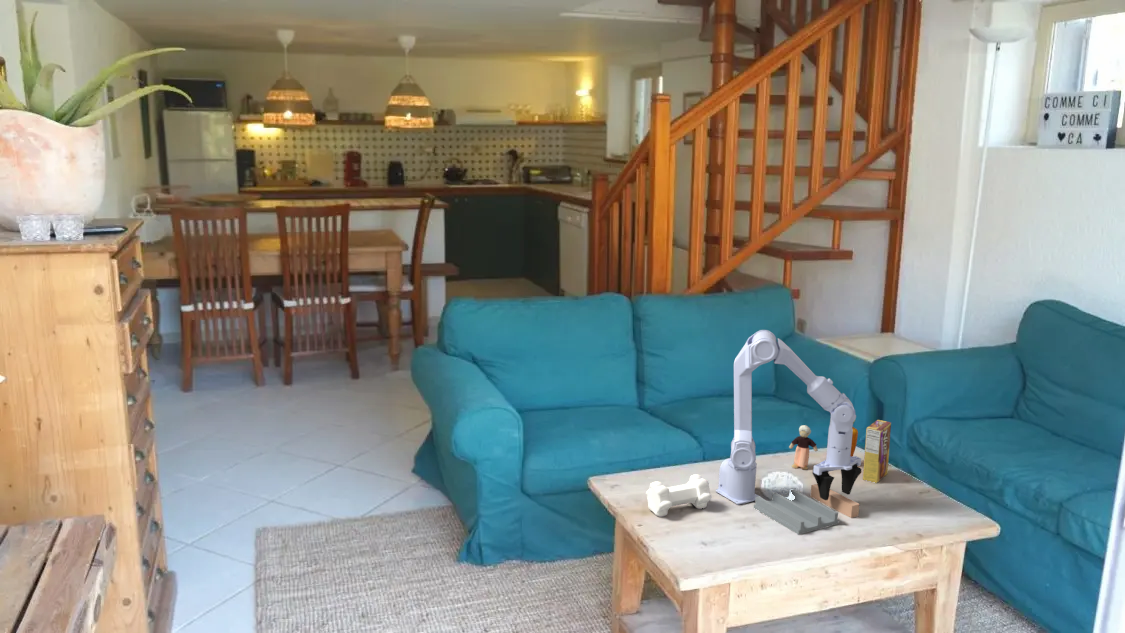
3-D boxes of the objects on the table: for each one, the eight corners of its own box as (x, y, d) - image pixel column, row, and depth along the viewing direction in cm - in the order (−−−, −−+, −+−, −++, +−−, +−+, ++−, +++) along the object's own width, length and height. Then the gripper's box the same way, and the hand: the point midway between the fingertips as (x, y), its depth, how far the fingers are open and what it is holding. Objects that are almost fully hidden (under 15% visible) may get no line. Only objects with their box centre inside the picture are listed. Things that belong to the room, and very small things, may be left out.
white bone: (660, 523, 208) (663, 493, 206) (642, 506, 216) (645, 477, 213) (711, 512, 214) (715, 483, 212) (692, 496, 222) (696, 468, 220)
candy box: (872, 470, 242) (877, 419, 239) (887, 474, 239) (893, 422, 236) (861, 479, 235) (866, 427, 232) (876, 483, 232) (882, 430, 229)
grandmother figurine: (788, 469, 242) (792, 426, 239) (787, 464, 245) (790, 422, 243) (816, 471, 240) (820, 428, 238) (815, 466, 244) (818, 424, 241)
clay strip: (810, 497, 224) (811, 485, 223) (817, 495, 225) (818, 483, 224) (850, 519, 211) (852, 505, 211) (858, 517, 213) (859, 504, 212)
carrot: (855, 468, 243) (860, 418, 239) (837, 467, 244) (842, 417, 240) (853, 462, 247) (858, 413, 244) (835, 460, 248) (840, 411, 245)
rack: (753, 508, 216) (754, 497, 215) (792, 498, 222) (793, 488, 221) (798, 534, 202) (799, 522, 201) (838, 523, 208) (839, 512, 207)
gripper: (829, 455, 208) (825, 507, 211) (872, 446, 214) (867, 496, 217) (808, 446, 214) (805, 496, 217) (850, 437, 220) (846, 486, 223)
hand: (834, 495), depth 217 cm, fingers open, 7 cm apart
